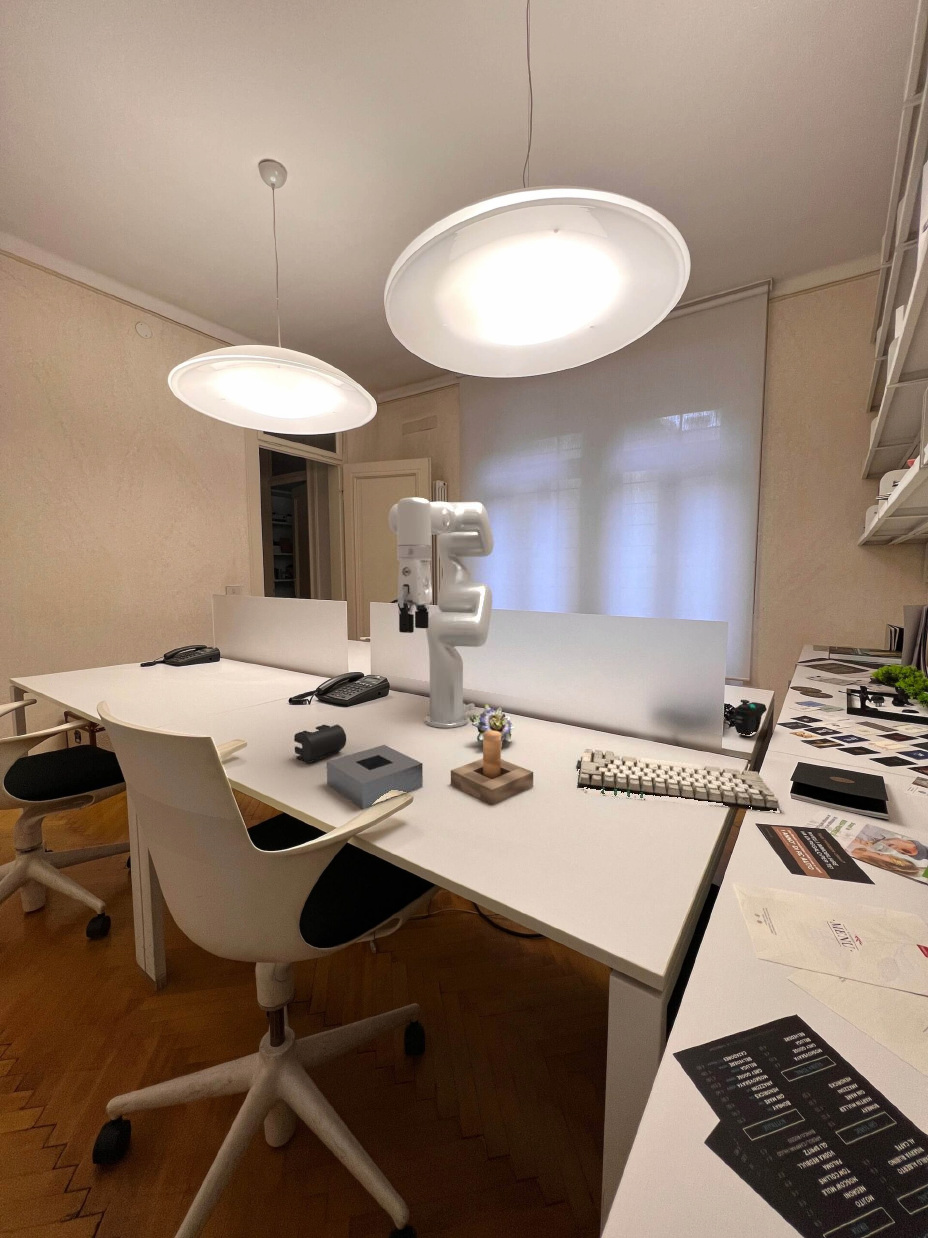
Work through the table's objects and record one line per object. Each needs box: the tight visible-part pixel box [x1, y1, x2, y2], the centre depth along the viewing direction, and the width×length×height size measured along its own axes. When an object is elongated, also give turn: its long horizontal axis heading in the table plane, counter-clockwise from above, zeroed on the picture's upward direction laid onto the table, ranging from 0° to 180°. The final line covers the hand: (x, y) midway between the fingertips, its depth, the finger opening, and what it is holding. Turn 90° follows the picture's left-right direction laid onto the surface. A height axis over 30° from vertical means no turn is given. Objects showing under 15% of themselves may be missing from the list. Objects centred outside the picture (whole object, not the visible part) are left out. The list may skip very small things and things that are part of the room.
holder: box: [450, 758, 534, 806], centre depth 103 cm, size 12×12×3 cm
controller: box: [733, 699, 767, 735], centre depth 133 cm, size 4×12×10 cm, turn 127°
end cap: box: [293, 724, 347, 764], centre depth 118 cm, size 10×7×7 cm
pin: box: [482, 731, 502, 779], centre depth 103 cm, size 4×4×11 cm
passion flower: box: [469, 704, 517, 748], centre depth 127 cm, size 11×11×12 cm
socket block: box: [326, 744, 424, 810], centre depth 103 cm, size 14×14×5 cm
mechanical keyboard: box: [575, 748, 780, 812], centre depth 104 cm, size 38×19×3 cm, turn 75°
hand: (414, 630), depth 114 cm, fingers open, 9 cm apart
